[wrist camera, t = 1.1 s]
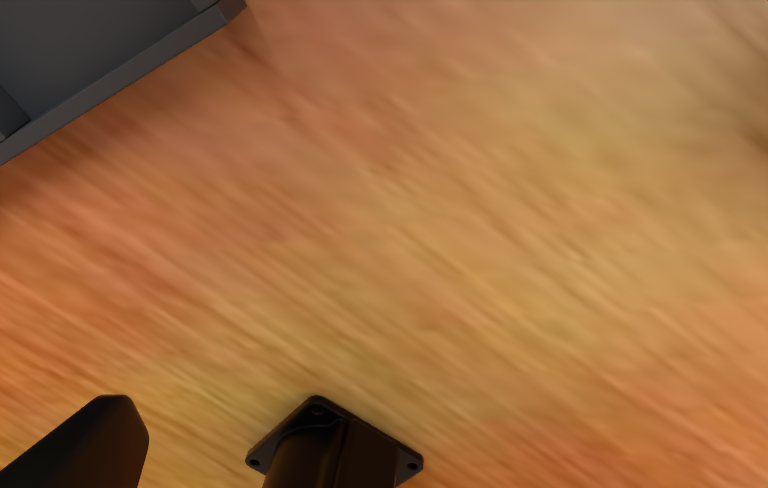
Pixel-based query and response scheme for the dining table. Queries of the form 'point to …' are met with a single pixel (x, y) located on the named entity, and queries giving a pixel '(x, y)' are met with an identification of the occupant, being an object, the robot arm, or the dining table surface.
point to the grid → (87, 55)
